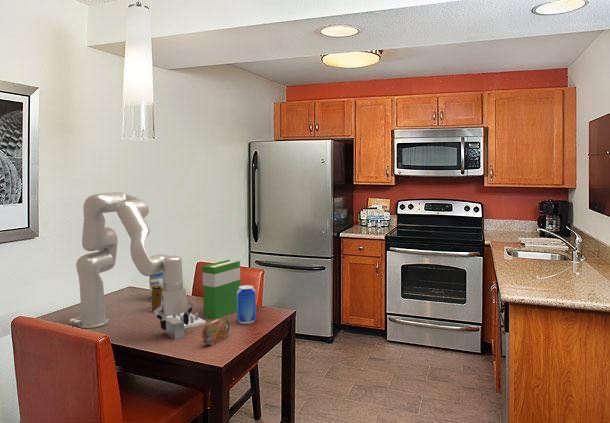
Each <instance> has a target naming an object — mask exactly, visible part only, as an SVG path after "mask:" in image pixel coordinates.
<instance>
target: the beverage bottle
mask: <svg viewBox="0 0 610 423" xmlns="http://www.w3.org/2000/svg"><path fill="white" fill-rule="evenodd" d="M148 277H149V279H148V282H149V300H150V302H152V294H151V293H152V287H153V286H155V285H163V283H164V278H163V272H161V273H157V274H154V275H151V276H148Z"/></svg>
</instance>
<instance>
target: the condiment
mask: <svg viewBox="0 0 610 423" xmlns="http://www.w3.org/2000/svg"><path fill="white" fill-rule="evenodd" d="M161 286H162V285H155V286H153V287H152V293H151V294H152V301H151V309H148V311H149V312H151V313H153V314H154V312H153V311H154V310H155V309H157V308H158V307H159V306H161V297H162V291H163V290H164V289H161ZM158 313H159V314H162V312H161V311H159V312H158Z"/></svg>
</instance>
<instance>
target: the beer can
mask: <svg viewBox="0 0 610 423" xmlns="http://www.w3.org/2000/svg"><path fill="white" fill-rule="evenodd" d="M256 294H257V293H256V289H255V288H254V285H250V284H245V285H240V286H239V289H238V291H237V311H236V320H237V321H238V323H239V324H241V325H250V324H254V322H255V321H256V318H257V308H256V306H257V303H256V299H257V298H256V296H257V295H256Z"/></svg>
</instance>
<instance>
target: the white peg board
mask: <svg viewBox="0 0 610 423" xmlns="http://www.w3.org/2000/svg"><path fill="white" fill-rule="evenodd" d="M183 315H184V313H180V314H176V315H171V316H167V317H166V318H165V319H168V318H173V317H174V318H177V319H179V320H180V321H182V322H183ZM183 323H184V322H183ZM206 324H207V321H206V320H204V319H202V318H201V317H199V312H194V314H193V313H192V312H190V315H189V322H188V325H186V324H184V330H186V329H191V328H194V327H199V326H203V325H206Z"/></svg>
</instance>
